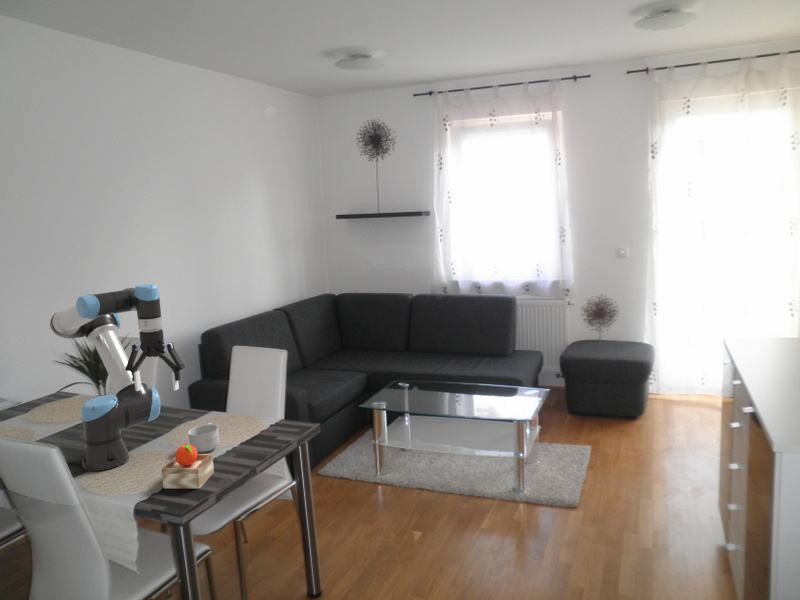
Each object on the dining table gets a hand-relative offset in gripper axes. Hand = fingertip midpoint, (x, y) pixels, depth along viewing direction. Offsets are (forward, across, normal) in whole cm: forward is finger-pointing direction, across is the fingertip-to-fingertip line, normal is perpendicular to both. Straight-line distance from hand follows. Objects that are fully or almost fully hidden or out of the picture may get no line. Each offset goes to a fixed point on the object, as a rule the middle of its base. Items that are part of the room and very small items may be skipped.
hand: (157, 389), depth 218 cm
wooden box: (+27, +15, -14) cm, 34 cm away
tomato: (+22, +15, -14) cm, 30 cm away
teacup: (+27, +10, +13) cm, 32 cm away
